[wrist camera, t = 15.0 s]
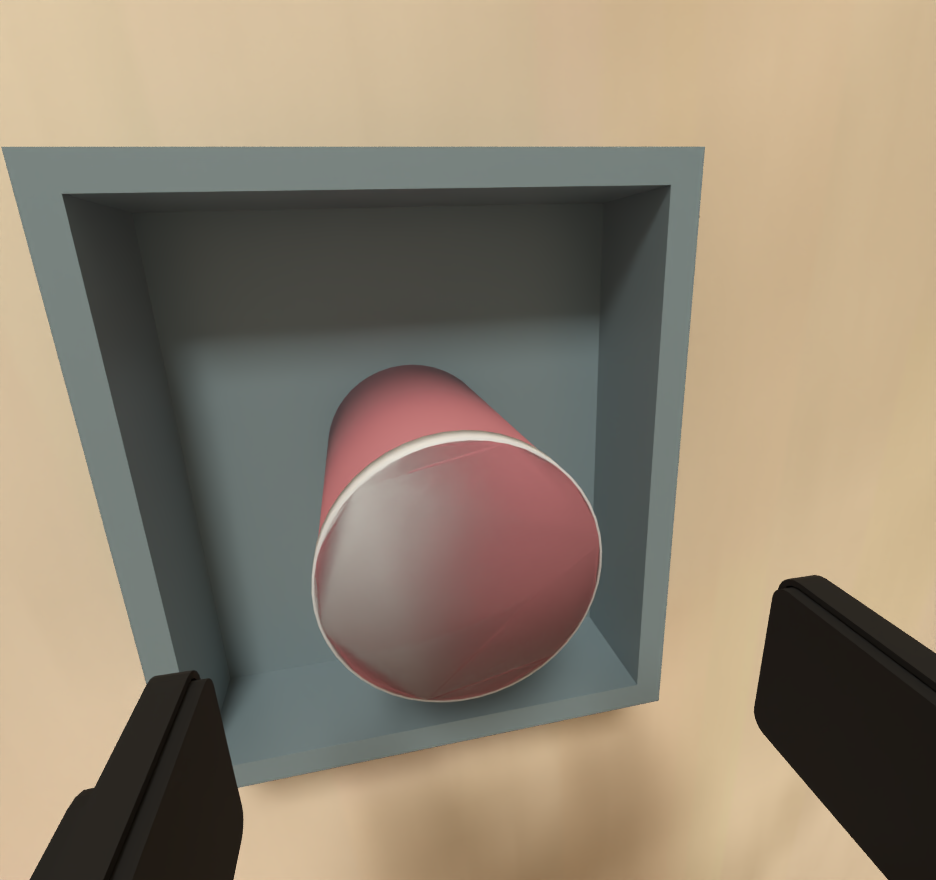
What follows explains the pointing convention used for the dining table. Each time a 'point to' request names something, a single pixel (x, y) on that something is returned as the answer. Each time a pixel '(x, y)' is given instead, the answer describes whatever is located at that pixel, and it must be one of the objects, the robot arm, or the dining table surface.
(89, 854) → the robot arm
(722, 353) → the dining table surface
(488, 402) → the tote
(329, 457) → the soup can
